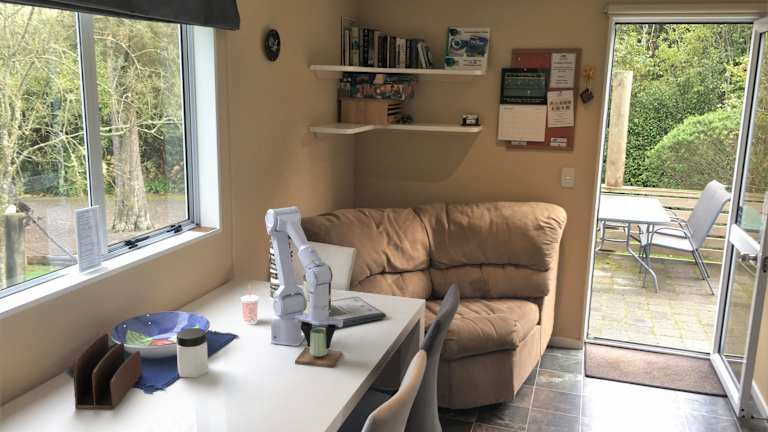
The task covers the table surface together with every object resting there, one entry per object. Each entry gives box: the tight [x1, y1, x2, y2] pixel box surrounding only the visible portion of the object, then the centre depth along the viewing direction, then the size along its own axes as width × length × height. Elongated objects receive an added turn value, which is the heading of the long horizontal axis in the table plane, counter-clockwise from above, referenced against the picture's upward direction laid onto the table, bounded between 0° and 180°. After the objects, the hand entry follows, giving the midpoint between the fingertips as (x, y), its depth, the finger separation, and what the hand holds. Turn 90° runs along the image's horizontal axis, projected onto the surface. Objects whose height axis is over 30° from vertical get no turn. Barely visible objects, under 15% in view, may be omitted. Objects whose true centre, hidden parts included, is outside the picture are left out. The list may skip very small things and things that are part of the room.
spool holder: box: [294, 346, 343, 369], centre depth 190 cm, size 12×10×6 cm
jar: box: [176, 327, 209, 379], centre depth 179 cm, size 9×8×12 cm
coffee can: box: [302, 274, 332, 312], centre depth 228 cm, size 10×10×14 cm
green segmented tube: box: [309, 327, 329, 356], centre depth 189 cm, size 5×5×7 cm
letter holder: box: [72, 332, 143, 410], centre depth 167 cm, size 10×20×14 cm, turn 1°
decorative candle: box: [268, 236, 294, 302], centre depth 241 cm, size 9×9×25 cm
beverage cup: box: [240, 283, 260, 325], centre depth 217 cm, size 6×6×14 cm
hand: (319, 346), depth 190 cm, fingers closed on green segmented tube, 5 cm apart
